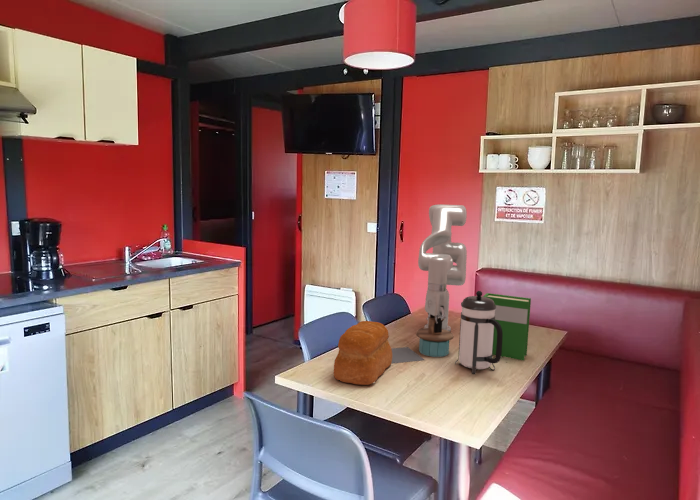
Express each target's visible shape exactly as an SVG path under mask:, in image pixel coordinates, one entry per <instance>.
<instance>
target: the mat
mask: <svg viewBox="0 0 700 500" xmlns="http://www.w3.org/2000/svg"><path fill="white" fill-rule="evenodd" d="M391 349H392V362H391V365H392V364H401V363H412V362H419V361H420V362H423V361H426V359H425V358H423V357H422V356H420V355H419V354H418V353H417V352H416V351H414V350H413V349H411V348H410V347H409V346H405V347H393V348H392V347H391Z"/></svg>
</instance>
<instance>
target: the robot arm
mask: <svg viewBox="0 0 700 500" xmlns="http://www.w3.org/2000/svg"><path fill="white" fill-rule="evenodd" d="M428 217H429V222H430V225H431V234H430V235H428V236H427V237H426V238H424V239H423V241H422V243H421V244H420V247H419V251H418V261H417V266H418V269H420V270H421V271H423V272H427V273H428V275H427V290H426V294H425V295H426V296H425V300H424V301H425V303H424V311H425V313H427V318H426V321H427V323H426V324H425V325H424V326H423V327H424V328H428V325H429V318H435V322H436V323H434V332H435V333H439V332H442V329H444V330H447V331H450V332H451V331H452V327H451V326H450V325H449V324H448V323H449V308H450V307H449V306H450V293H449V290H448V289H447V286H463V285H464V284H465V283H466V278H467V258H468V257H467V256H468V255H467V253H468V251H467V246H466V245H465V244H464V243H462V242H452V236H453V235H452V234H453V233H452V227H454V226H455V227H463V226H465V225H466V222H467V209H466V206H465V205H462V204H461V205H460V204H440V203H439V204H434V205H431V206H430V207H429V209H428ZM431 248H432V253H431V252H427V251H428V250H430V249H431ZM454 263H455V264H454ZM438 318H439V319H438Z"/></svg>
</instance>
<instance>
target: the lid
mask: <svg viewBox="0 0 700 500" xmlns="http://www.w3.org/2000/svg"><path fill="white" fill-rule="evenodd" d="M438 319H439V318H438ZM434 323H436V322H435V318H429V325H428V328H420V329H418V330H416V337H418V339H420V338H421V339H424V340H428V341H438V342H440V341H449V342H450V341H451V340H453V339H454V333H453V332H452V331H451V330H450V331H447V330H444V329H442V332H439V333H435V332H434Z"/></svg>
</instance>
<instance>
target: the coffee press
mask: <svg viewBox="0 0 700 500" xmlns="http://www.w3.org/2000/svg"><path fill="white" fill-rule="evenodd" d="M475 294H476V295H470V296H467V297H465V298H463V300H462V301H461V302H460V303H461V304H460V306H461V312H460V321H459V322H460V323H459V341H458V359H457V360H456V361H455V362H454V365H456V363H457V362H458V361H459V364H458V366H460V365H462V366H464V367H465V368H469V369H471V375H476V372H477V371H476V370H484V369H487V368H488V369H490V370H491V371H492V372H494V371H496V366H495V365H494V364H497V363H499V362H500V361H501V359H502V356H501V354H502V339H503V332H502V328H501V325H500V324H499V322H497V321H496V320H495V309H496V305H495V303H494V301H493V300H492V299H490V298H487V297H483V292H482V291H481V290H477V291H476V293H475ZM494 326H495V327H496V330H497V345H496V355H493V351H492V348H493V341H494V336H493V333H494ZM494 356H495V357H494ZM493 357H494V358H493ZM491 365H492V367H493V368H492V367H491Z"/></svg>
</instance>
